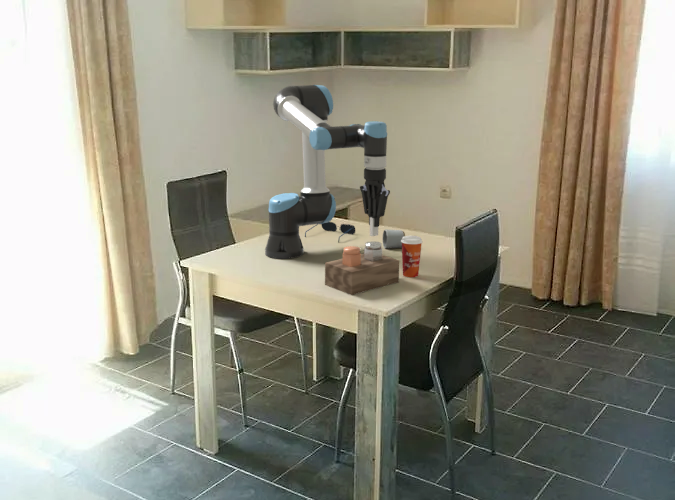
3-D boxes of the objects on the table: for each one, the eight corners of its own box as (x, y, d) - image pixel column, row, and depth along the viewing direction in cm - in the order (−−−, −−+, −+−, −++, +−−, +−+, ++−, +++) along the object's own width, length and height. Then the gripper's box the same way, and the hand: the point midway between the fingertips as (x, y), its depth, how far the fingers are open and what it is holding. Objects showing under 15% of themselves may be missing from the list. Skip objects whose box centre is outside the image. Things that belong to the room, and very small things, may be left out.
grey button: (361, 264, 271) (362, 243, 269) (373, 261, 275) (373, 240, 273) (372, 267, 267) (372, 246, 265) (384, 264, 271) (384, 243, 268)
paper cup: (406, 279, 274) (407, 241, 270) (396, 273, 281) (397, 236, 277) (425, 277, 277) (426, 239, 273) (415, 271, 284) (416, 234, 280)
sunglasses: (356, 235, 333) (355, 225, 332) (339, 247, 322) (338, 236, 320) (322, 230, 342) (321, 220, 340) (304, 242, 330) (303, 231, 328)
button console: (325, 284, 268) (325, 262, 265) (371, 272, 281) (372, 251, 279) (351, 295, 257) (351, 272, 255) (398, 282, 271) (399, 260, 269)
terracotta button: (340, 269, 265) (340, 248, 263) (352, 266, 268) (352, 245, 266) (350, 273, 261) (351, 251, 259) (363, 270, 264) (363, 248, 262)
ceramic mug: (406, 249, 312) (406, 231, 310) (386, 250, 310) (386, 231, 308) (398, 243, 322) (399, 225, 320) (379, 244, 320) (380, 226, 318)
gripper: (354, 166, 264) (353, 233, 270) (380, 171, 254) (378, 240, 261) (370, 164, 269) (369, 230, 275) (396, 169, 259) (394, 237, 265)
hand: (373, 235), depth 268 cm, fingers closed
